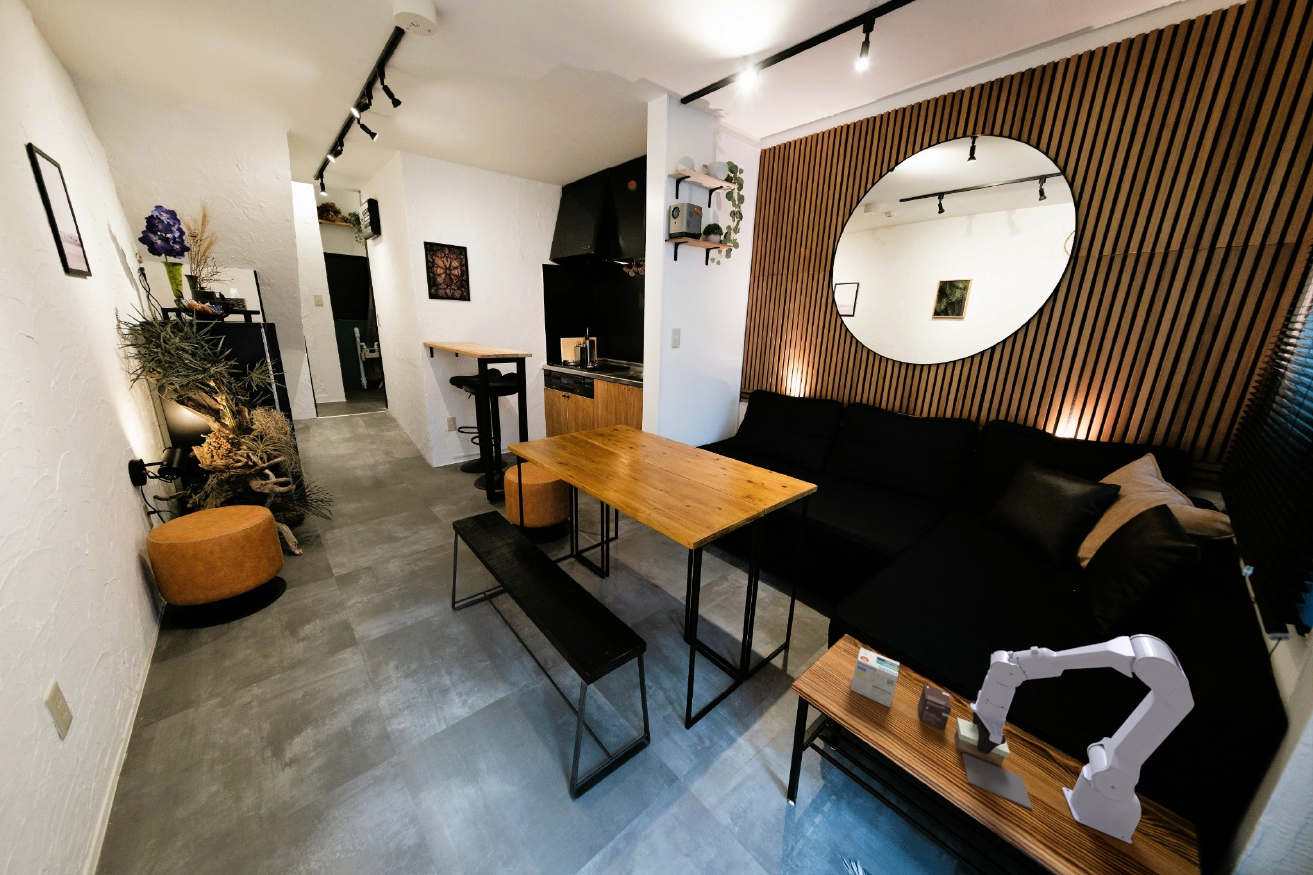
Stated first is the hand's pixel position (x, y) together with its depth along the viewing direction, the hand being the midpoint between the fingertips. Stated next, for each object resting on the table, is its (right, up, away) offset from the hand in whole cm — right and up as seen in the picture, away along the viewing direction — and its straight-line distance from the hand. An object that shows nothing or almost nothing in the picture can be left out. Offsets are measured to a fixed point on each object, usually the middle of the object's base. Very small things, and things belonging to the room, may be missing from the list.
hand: (980, 741), depth 110 cm
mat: (-1, -5, -6) cm, 8 cm away
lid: (0, +1, 0) cm, 1 cm away
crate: (0, -3, +1) cm, 3 cm away
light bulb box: (-19, +3, +17) cm, 26 cm away
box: (-6, 0, +10) cm, 12 cm away
